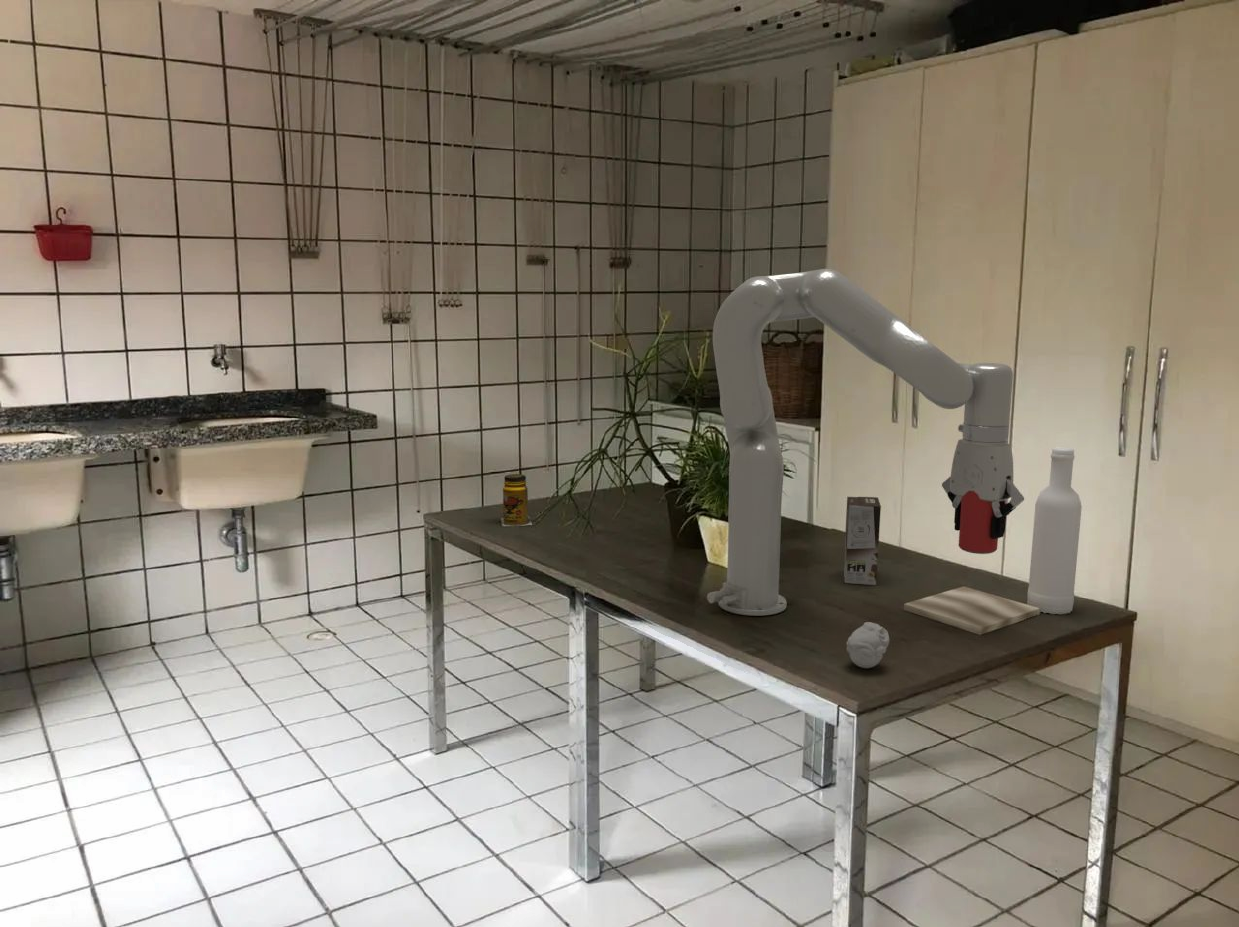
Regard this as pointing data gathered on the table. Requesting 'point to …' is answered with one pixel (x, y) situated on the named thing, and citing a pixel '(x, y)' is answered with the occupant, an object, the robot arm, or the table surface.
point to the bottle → (1055, 539)
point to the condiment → (515, 501)
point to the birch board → (971, 610)
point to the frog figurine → (868, 645)
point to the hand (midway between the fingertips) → (978, 532)
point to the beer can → (976, 525)
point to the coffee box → (862, 540)
